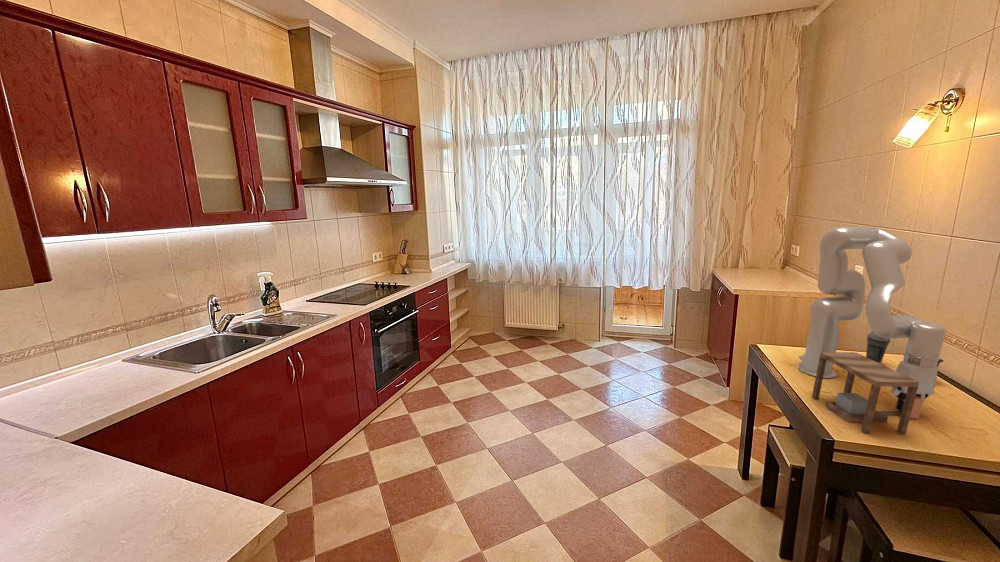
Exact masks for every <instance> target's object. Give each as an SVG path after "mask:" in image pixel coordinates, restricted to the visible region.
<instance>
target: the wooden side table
mask: <svg viewBox="0 0 1000 562" xmlns="http://www.w3.org/2000/svg"><path fill="white" fill-rule="evenodd" d="M826 360H828V361H830V362H831V363H833V364H834V365H835V366H837V367H839V368H841V369H843V370H844V371H846V372H847V376H846V381H845V384H844V388H843V393H852V391H853V387H854V381H855V377H858V378H859V379H862V380H863V381H865V382H867V383H869V384H871V385H870V391H869V395H868V399H867V400H868V403H867V407H866V412H865V415H848V414H847V413H845V412H843V411H842V410H840V409H839V408H837V407H836V406H835V403H836V401H826V402H825V405H824V406H825V408H827V410H829V411H831V412H832V413H833V414H834V415H836V416H838V417H839V418H841V419H842V420H844V421H846V422H847V423H862V425H861V429H860V431H861V433H863V434H864V435H865V434H866V435H870V434H871V430H872V425H873V423H888V420H889V417H888V416H887V415H886V414H874V413H875V411H876V408H877V403H878V400H879V395H880V391H881V387H891V386H897V387H908V389H907V393H906V397H905V401H904V405H903V409H902V413H901V414H900V416H899V421H898V426H897V429H896V432H897V433H898V432H899V433H898V434H900V435H906V434H907V431H908V426H909V422H910V419H911V418H910V415H911V412H912V408H913V404H914V400H915V396H916V393H917V389H918V386H919V382H918V381H916V380H914V379H912V378H910V377H907V376H905V375H903V374H901V373H899V372H897V371H896V369H892V368H891V367H888V366H886V365H884V364H882V363H881V364H880V363H878V362H875V361H873V360H871V359H869V358H867V357H866V355H862V354H860V353H858V352H849V351H847V352H843V351H842V352H840V351H839V352H838V351H836V352H820V358H819V363H818V368H817V373H816V377H815V379H814V384H813V390H812V395H811V398H812V399H813V400H819V398H820V394H821V389H822V384H823V380H824V378H823V375H824V370H825V365H826Z"/></svg>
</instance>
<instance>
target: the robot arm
mask: <svg viewBox="0 0 1000 562" xmlns="http://www.w3.org/2000/svg"><path fill="white" fill-rule="evenodd" d="M845 250H862V251H861V252H862V259H863V262H864V265H865V269H866V272H867V276H868V280H869V283H870V287H871V288H870V291H869V293H868V295H867V299H866V303H865V314H866V318H867V321H868V325H869V328H870V329H871V331H873V332H874V333H875V334H876V335H877V336H879V337H881V338H890V339H907V344H906V348H905V352H904V357H903V360H901V361H899V363H898V365H897V367H896V369H895V371H897V372H899V373H901V374H903V375H905V376H907V377H910V378H912V379H914V380H916V381H918V382H919V386H918V389H917V393H916V396H918V397H920V398H922V399H924V400H923V403H925V399H927V398H928V397H930V396H932V395H934V394H935V389H936V384H937V381H938V380H937V379H938V367H937V363H938V360H939V358H940V354H941V353H942V351H941V350H942V349H943V348H942V347H943V345H944V340H945V337H946V334H947V330H946V328H945V327H944V326H943V325H941V324H938V323H934V322H929V321H925V320H923V319H921V318H918V317H916V316H914V315H910V314H908V315H907V314H897V315H893V314H892V312H891V308H890V304H891V303H890V302H891V299H892V297H893V295H894V294H895V293H896V292H897V291H898V290H900V289H901V288H903V287H904V286H905V284H906V280H905V278H904V274H903V272H902V268H901V265H902V264H905V263H907V262H908V261H909V260H910V259H911V257H912V254H913V251H912V248H911V246H910V245H909V244H908V243H907V242H905V241H904V240H902V239H900V238H898V237H897V236H895V235H893V234H892V233H889V232H887V231H884V230H883V229H881V228H879V227H876V226H870V225H867V226H866V225H865V226H863V225H862V226H857V225H855V226H854V225H853V226H847V225H846V226H839V227H835V228H832V229H830V230H829V231H827V232H825V233H824V235H823V236H822V237H821V240H820V243H819V255H820V256H819V259H820V260H819V265H818V266H819V267H818V276H817V278H818V279H817V287H818V290H819V292H821V293H822V294H826V295H837V296H832V297H830V296H829V297H820V298H818V299H815V300H814V301H813V302H812V303H811V305H810V309H809V313H810V323H809V330H808V331H809V332H808V337H807V342H806V346H805V352H804V354H802V355H799V357H798V359H800V360H801V363H798V364H797V369H798V370H799V371H800V372H802V373H803V374H806V375H808V374H809V375H808V376H811V375H812V376H811V377H815V376H816V373H817V368H818V363H819V358H820V352H837V349H838V346H839V345H838V344H839V340H840V335H841V334H840V327H839V325H838V322H842V321H843V322H844V321H853V320H857V319H858V318H859V317H860V316H861V314H862V312H863V307H864V301H865V294H866V279H865V277H864V276H863V275H862V274H861V273H860V272H859V271H858V270H854V269H849V268H848V265H849V257H848V254H847V252H846V251H845ZM834 365H835V364H833V363H831V362H830V361H828V360H826V365H825V370H824V375H823V379H834V377H835V378H836V377H837V375H838V374H837V371H835V370H834V369H833V368H834ZM890 387H891V389H890V393H892V394H894V395H895V397H896V398H897V399H898V403H897V402H896V403H897V407H896V406H895V407H896V409H898V410H899V411H901V412H902V409H903V405H904V401H905V397H906V393H907V389H908V387H897V386H890ZM903 393H904V394H905V396H904V395H903Z"/></svg>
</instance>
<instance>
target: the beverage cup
mask: <svg viewBox="0 0 1000 562" xmlns="http://www.w3.org/2000/svg"><path fill="white" fill-rule="evenodd" d="M866 342H867V344H866V355H865V357H867V358H869V359H871V360H873V361H875V362H878V363H880V364H882V362H883V359H884V356H885V354H886V350H887V348H888V346H889V344H890V342H891V338H881V337H879V336H877V335H876V334H875V333H874V332H873V331H872V330H871V331H870V332H869V333H868V334H867V337H866Z"/></svg>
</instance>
